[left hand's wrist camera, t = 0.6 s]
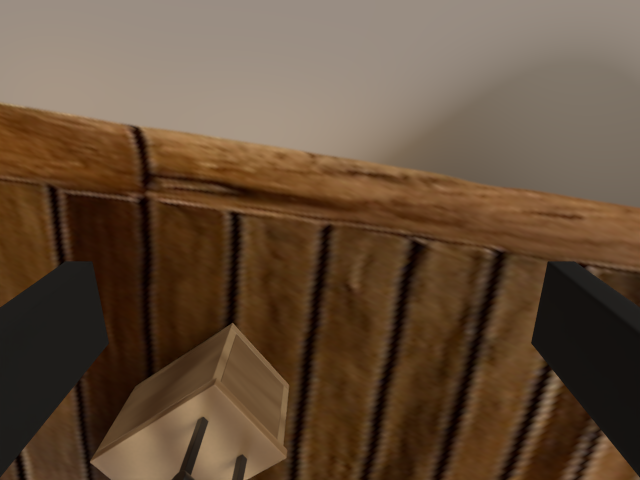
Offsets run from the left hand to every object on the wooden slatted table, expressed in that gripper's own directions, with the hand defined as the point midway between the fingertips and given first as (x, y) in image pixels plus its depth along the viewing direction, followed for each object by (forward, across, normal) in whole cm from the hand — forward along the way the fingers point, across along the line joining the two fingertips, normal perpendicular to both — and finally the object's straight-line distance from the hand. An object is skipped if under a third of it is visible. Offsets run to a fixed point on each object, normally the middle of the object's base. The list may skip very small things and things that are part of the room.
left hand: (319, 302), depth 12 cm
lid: (+18, +12, +25) cm, 33 cm away
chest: (+27, +12, +25) cm, 39 cm away
